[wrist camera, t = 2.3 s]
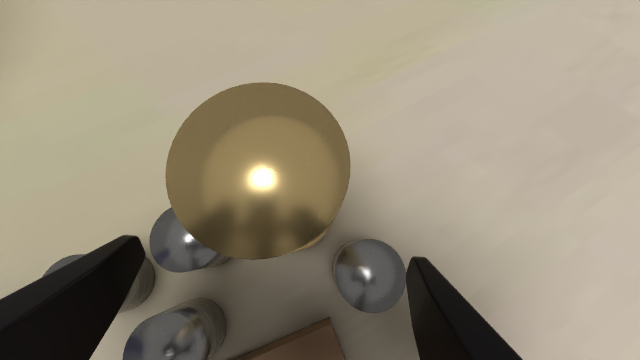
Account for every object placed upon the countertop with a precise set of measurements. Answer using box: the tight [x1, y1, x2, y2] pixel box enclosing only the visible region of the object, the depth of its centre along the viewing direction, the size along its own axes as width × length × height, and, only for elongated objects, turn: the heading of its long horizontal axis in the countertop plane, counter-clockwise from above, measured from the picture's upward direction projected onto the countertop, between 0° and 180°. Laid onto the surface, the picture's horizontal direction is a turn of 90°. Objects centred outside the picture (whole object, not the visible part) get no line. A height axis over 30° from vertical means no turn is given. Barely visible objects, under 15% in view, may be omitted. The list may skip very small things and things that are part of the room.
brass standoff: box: [166, 83, 350, 260], centre depth 12 cm, size 4×4×13 cm
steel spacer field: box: [43, 207, 406, 360], centre depth 16 cm, size 9×18×4 cm, turn 112°
